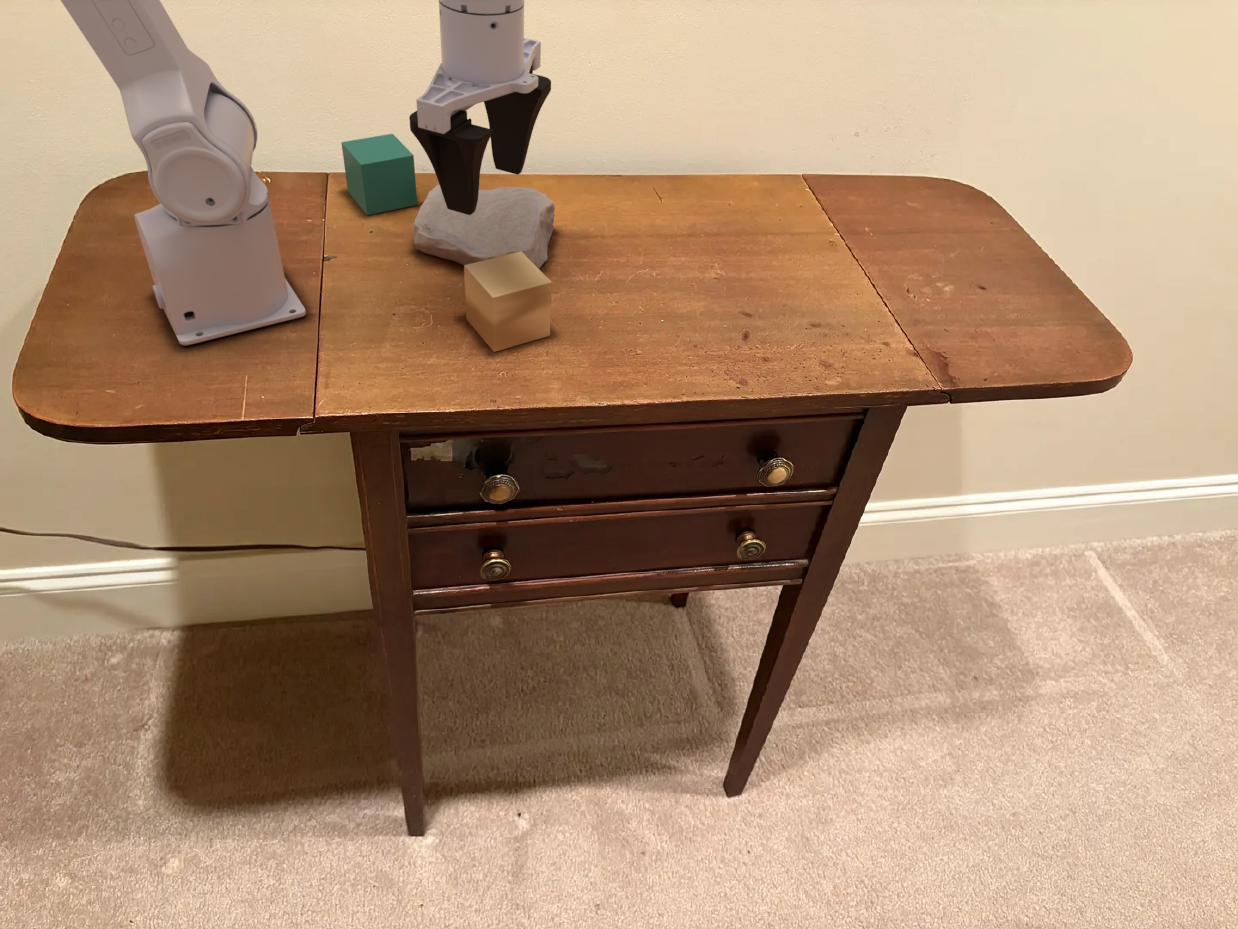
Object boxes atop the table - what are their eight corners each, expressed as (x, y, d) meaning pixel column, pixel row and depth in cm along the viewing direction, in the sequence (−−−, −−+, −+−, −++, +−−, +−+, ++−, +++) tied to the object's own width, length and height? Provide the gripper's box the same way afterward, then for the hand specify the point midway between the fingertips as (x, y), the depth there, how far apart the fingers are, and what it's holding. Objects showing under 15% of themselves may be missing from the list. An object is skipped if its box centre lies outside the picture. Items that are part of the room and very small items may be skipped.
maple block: (493, 352, 71) (492, 297, 68) (465, 319, 74) (463, 264, 71) (550, 335, 73) (552, 281, 70) (521, 304, 76) (521, 250, 73)
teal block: (367, 215, 85) (360, 164, 81) (347, 192, 88) (341, 141, 84) (417, 205, 87) (413, 154, 84) (397, 182, 90) (392, 132, 87)
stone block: (541, 296, 80) (558, 221, 86) (538, 254, 76) (556, 179, 82) (408, 284, 81) (434, 210, 87) (398, 241, 77) (426, 167, 83)
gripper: (481, 45, 56) (486, 244, 65) (580, -14, 66) (571, 165, 75) (382, 21, 58) (400, 218, 67) (492, -33, 68) (495, 145, 77)
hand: (485, 189), depth 71 cm, fingers open, 7 cm apart
